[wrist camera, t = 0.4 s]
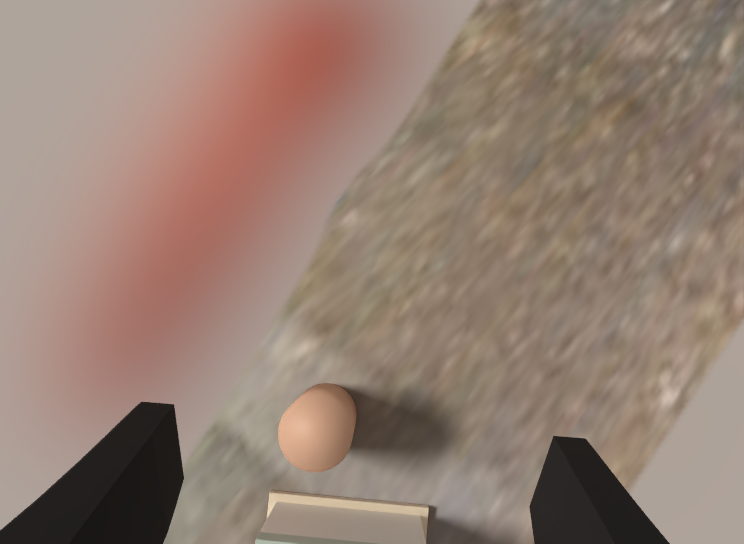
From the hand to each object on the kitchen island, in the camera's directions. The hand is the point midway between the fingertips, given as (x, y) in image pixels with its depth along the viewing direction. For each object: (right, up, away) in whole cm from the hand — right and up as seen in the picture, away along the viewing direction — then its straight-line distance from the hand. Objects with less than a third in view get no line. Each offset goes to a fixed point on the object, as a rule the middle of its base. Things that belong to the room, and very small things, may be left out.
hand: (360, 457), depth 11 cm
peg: (-3, -6, +25) cm, 26 cm away
